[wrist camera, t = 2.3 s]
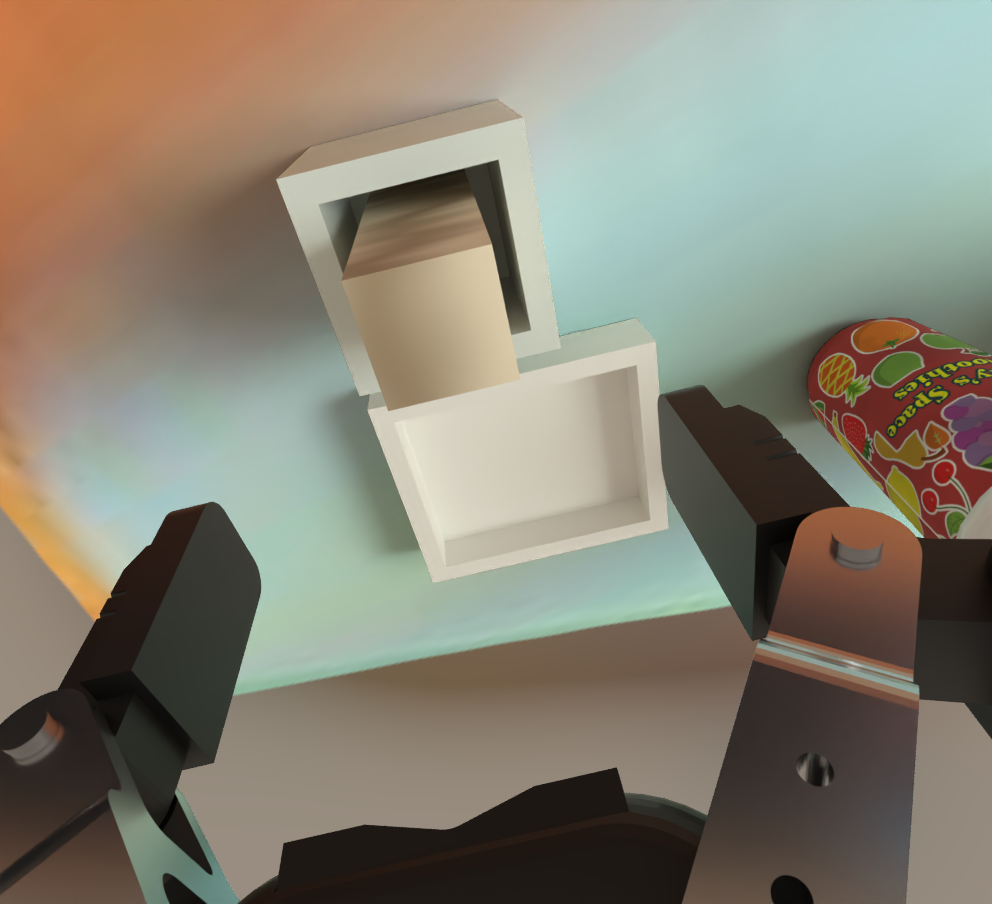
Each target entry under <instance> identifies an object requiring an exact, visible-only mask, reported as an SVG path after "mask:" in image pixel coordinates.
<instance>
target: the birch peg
mask: <svg viewBox="0 0 992 904" xmlns="http://www.w3.org/2000/svg"><path fill="white" fill-rule="evenodd" d="M341 282H342V284H343V287H344V290H345V293H346V295H347V298H348V301H349V304H350V307H351V309H352V312H353V315H354V318H355V320H356V323H357V326H358V329H359V331H360V334H361V337H362V340H363V343H364V345H365V348H366V351H367V354H368V356H369V359H370V362H371V365H372V368H373V370H374V373H375V376H376V379H377V381H378V384H379V387H380V390H381V392H382V395H383V398H384V401H385V404H386V406H387V409H388V411H391V410H395V409H400V408H404V407H408V406H412V405H416V404H421V403H425V402H429V401H433V400H437V399H442V398H446V397H450V396H454V395H458V394H462V393H467V392H471V391H475V390H479V389H483V388H488V387H492V386H496V385H500V384H504V383H509V382H513V381H517V380H521V379H520V375H519V370H518V365H517V360H516V356H515V351H514V346H513V341H512V337H511V332H510V327H509V322H508V318H507V313H506V308H505V303H504V299H503V294H502V289H501V284H500V280H499V275H498V270H497V265H496V261H495V256H494V251H493V246H492V243H491V240H490V237H489V235H488V232H487V229H486V227H485V224H484V221H483V218H482V216H481V213H480V210H479V208H478V205H477V202H476V200H475V197H474V194H473V191H472V189H471V186H470V183H469V181H468V178H467V175H466V173H465V170H464V168H463V169H459V170H455V171H451V172H447V173H443V174H439V175H435V176H431V177H427V178H423V179H419V180H415V181H410V182H406V183H402V184H398V185H394V186H390V187H386V188H382V189H378V190H374V191H370V194H369V197H368V200H367V203H366V206H365V209H364V212H363V215H362V218H361V222H360V225H359V228H358V231H357V234H356V237H355V240H354V243H353V246H352V249H351V252H350V256H349V259H348V262H347V265H346V268H345V271H344V274H343V277H342V280H341Z"/></svg>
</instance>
